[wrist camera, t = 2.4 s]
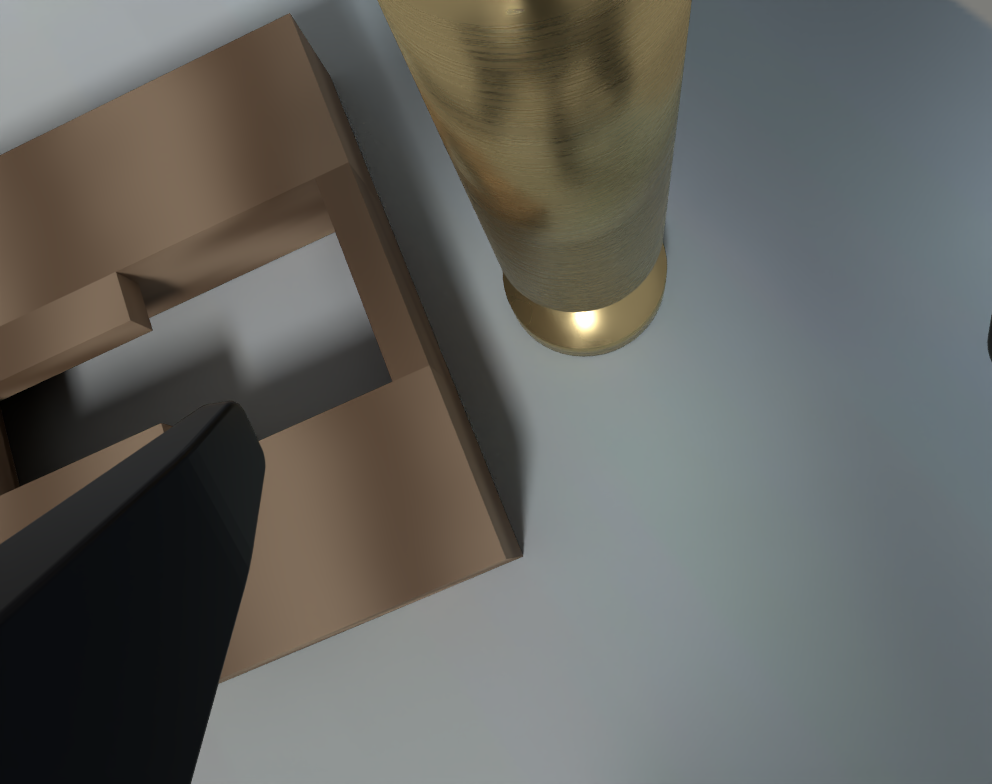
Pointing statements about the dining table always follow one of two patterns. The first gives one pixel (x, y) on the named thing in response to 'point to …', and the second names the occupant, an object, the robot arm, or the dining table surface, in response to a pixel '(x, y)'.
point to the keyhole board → (214, 261)
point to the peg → (559, 148)
